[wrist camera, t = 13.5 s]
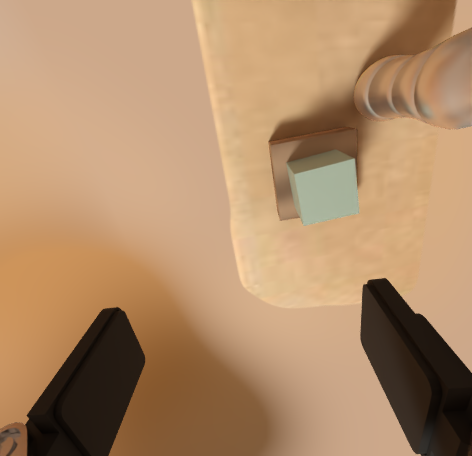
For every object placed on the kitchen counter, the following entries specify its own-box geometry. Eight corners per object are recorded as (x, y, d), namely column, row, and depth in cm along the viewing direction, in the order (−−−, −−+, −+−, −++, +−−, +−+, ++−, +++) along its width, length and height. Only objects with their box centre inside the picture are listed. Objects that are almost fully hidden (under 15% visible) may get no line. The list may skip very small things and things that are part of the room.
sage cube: (286, 162, 32) (294, 174, 26) (335, 149, 31) (354, 158, 25) (294, 206, 34) (303, 225, 29) (341, 195, 33) (359, 213, 28)
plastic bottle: (411, 102, 32) (630, 97, 14) (356, 130, 33) (487, 158, 15) (398, 46, 29) (643, -50, 11) (340, 79, 31) (472, 40, 13)
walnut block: (268, 141, 35) (270, 145, 31) (345, 126, 33) (356, 129, 30) (277, 209, 39) (280, 220, 35) (345, 198, 38) (356, 208, 34)
